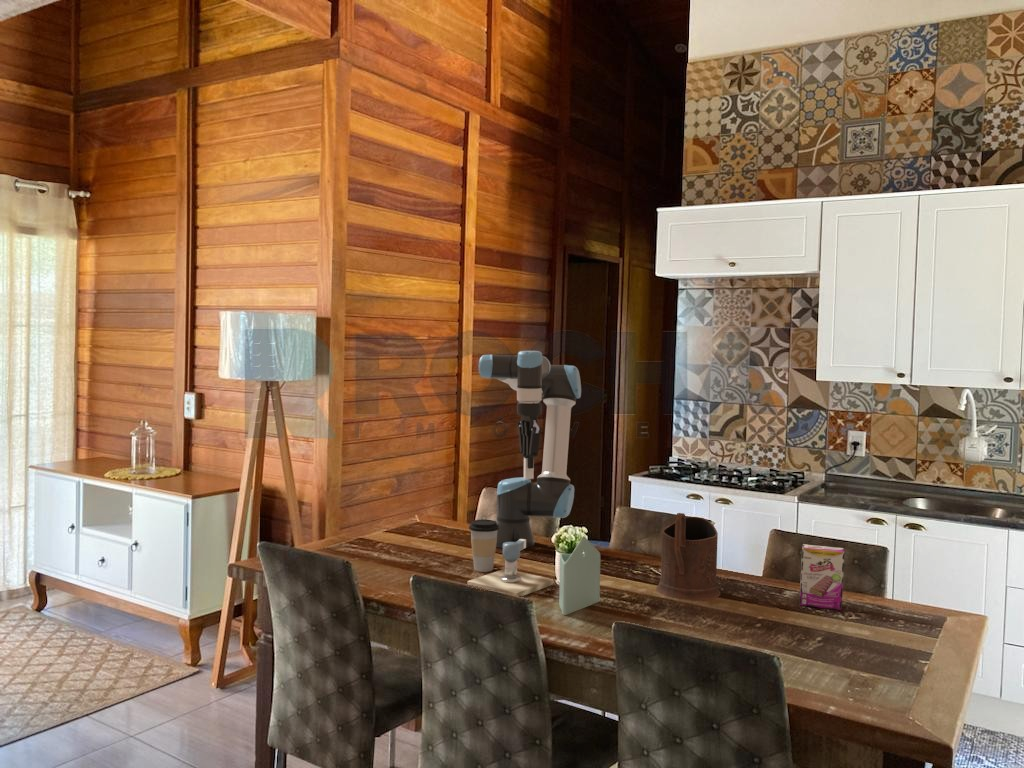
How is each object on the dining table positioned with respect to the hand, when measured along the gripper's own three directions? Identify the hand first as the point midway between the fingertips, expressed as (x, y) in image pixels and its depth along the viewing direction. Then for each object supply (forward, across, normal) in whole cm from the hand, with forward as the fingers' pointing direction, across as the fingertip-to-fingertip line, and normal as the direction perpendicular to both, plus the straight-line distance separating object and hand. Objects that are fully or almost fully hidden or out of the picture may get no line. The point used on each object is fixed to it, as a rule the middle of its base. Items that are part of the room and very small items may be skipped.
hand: (528, 478), depth 264 cm
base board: (+29, -10, +10) cm, 33 cm away
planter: (+29, -33, +2) cm, 44 cm away
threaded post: (+28, -10, +10) cm, 31 cm away
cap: (+21, -7, +7) cm, 23 cm away
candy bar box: (+30, -58, -63) cm, 90 cm away
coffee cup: (+30, +9, +11) cm, 33 cm away
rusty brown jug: (+30, -34, -34) cm, 57 cm away
